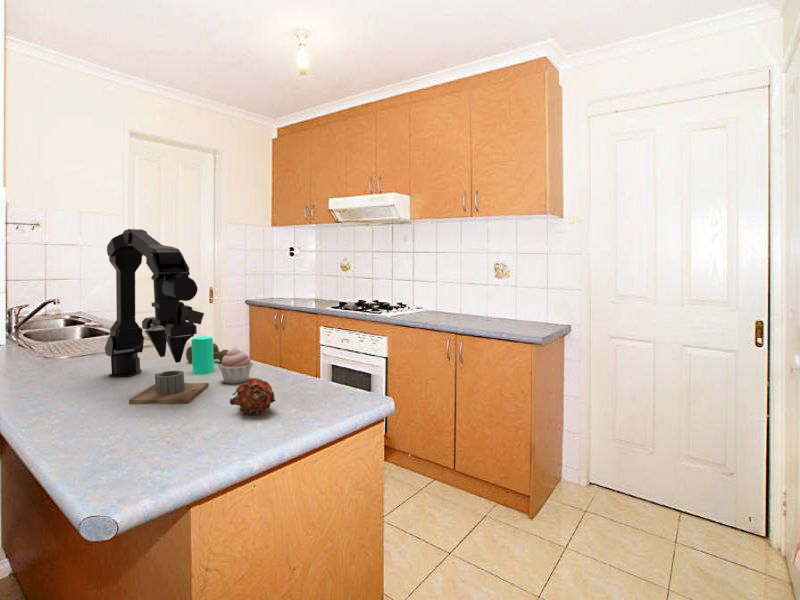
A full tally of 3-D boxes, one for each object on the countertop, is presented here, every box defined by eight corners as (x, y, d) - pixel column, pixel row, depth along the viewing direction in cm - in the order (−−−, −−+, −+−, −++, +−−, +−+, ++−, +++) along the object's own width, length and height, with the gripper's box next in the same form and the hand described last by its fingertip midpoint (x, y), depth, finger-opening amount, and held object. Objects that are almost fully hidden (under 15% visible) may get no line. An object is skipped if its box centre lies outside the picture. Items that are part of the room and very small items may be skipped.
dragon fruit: (266, 427, 101) (239, 421, 109) (291, 397, 106) (263, 393, 114) (242, 401, 97) (216, 397, 105) (268, 371, 102) (242, 369, 110)
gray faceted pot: (178, 394, 115) (177, 375, 114) (149, 395, 114) (148, 375, 114) (188, 387, 121) (187, 368, 121) (161, 387, 121) (160, 369, 120)
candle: (206, 374, 137) (204, 335, 136) (188, 373, 139) (186, 334, 137) (218, 369, 143) (216, 331, 142) (200, 368, 144) (199, 330, 143)
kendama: (224, 369, 146) (177, 362, 153) (245, 363, 154) (199, 356, 162) (225, 351, 145) (177, 344, 152) (245, 346, 154) (199, 340, 161)
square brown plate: (128, 403, 111) (128, 387, 110) (155, 387, 125) (155, 372, 124) (188, 403, 112) (188, 386, 111) (208, 386, 125) (208, 371, 125)
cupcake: (260, 380, 131) (259, 346, 130) (230, 387, 124) (229, 351, 123) (242, 374, 137) (241, 341, 136) (212, 381, 130) (211, 346, 129)
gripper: (216, 298, 115) (218, 359, 117) (183, 294, 128) (185, 349, 129) (170, 302, 107) (173, 367, 109) (139, 296, 119) (142, 356, 121)
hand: (170, 359), depth 117 cm, fingers open, 9 cm apart
